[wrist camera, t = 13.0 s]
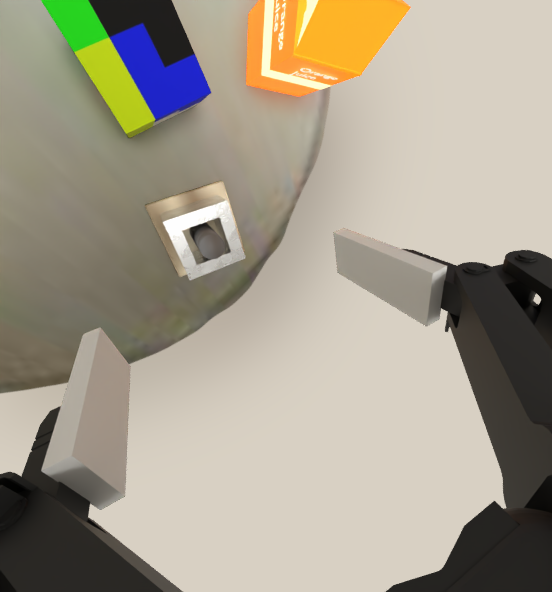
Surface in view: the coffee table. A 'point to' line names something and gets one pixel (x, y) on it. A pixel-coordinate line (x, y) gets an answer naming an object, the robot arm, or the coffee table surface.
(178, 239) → the frame
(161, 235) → the shaft block
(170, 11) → the puzzle toy
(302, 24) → the orange juice
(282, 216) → the coffee table surface
